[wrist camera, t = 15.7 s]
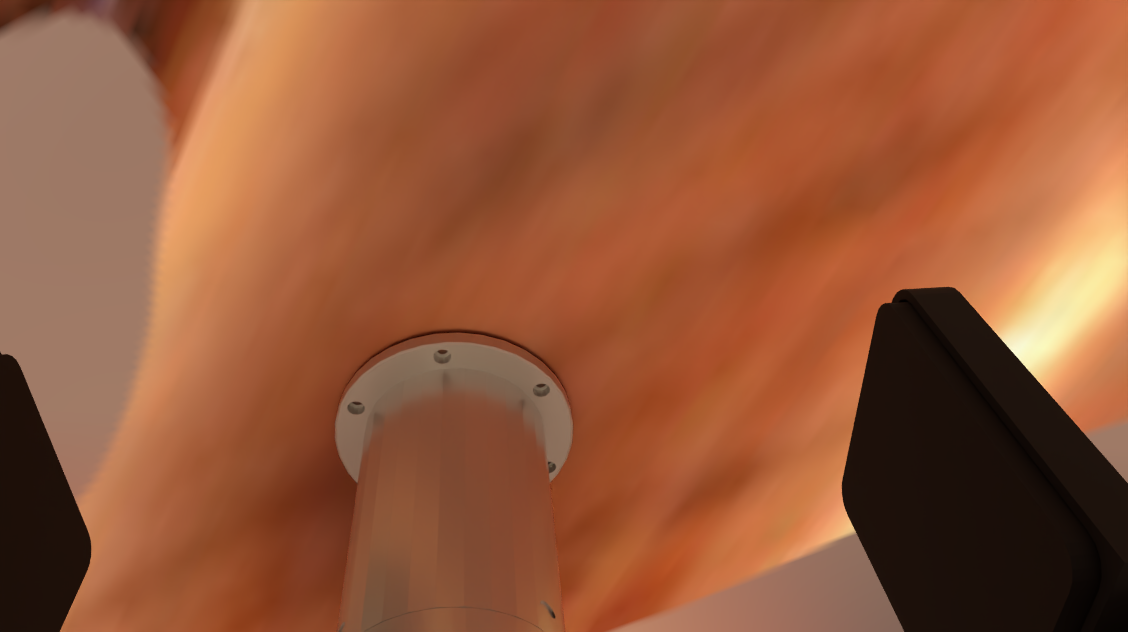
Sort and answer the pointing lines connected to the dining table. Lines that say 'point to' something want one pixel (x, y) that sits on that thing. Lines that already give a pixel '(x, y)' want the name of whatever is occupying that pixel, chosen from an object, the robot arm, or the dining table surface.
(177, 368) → the dining table surface
